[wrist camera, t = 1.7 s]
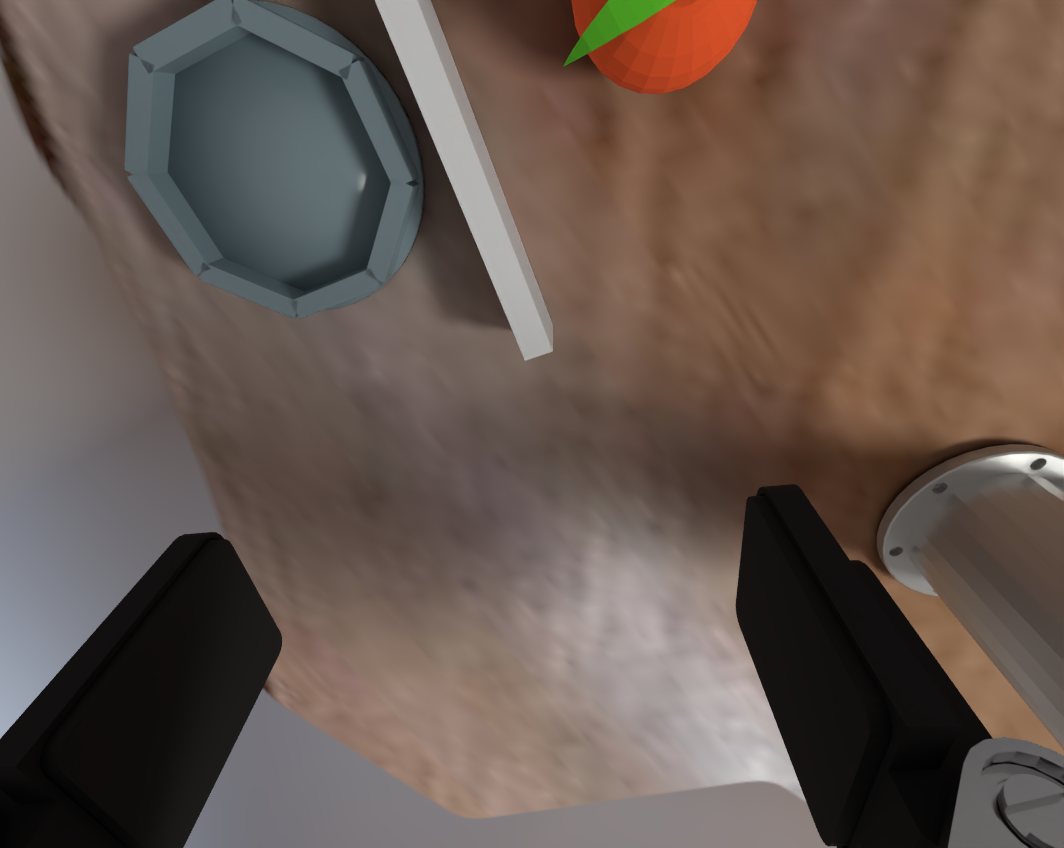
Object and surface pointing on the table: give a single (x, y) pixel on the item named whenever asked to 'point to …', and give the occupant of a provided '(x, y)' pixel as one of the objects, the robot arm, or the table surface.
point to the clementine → (657, 39)
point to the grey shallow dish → (273, 156)
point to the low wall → (468, 167)
